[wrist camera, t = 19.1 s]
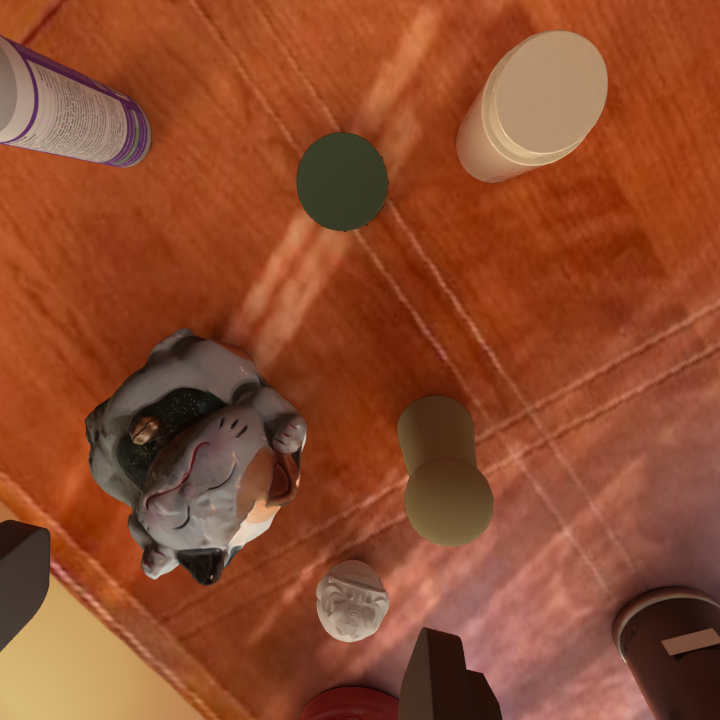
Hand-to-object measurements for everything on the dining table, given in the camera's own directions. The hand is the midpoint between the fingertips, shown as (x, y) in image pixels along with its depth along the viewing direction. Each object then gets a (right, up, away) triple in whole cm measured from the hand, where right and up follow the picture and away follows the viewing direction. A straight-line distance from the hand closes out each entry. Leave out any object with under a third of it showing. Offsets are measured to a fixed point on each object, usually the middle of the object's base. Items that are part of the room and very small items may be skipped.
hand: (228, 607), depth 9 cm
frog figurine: (+2, -14, +30) cm, 33 cm away
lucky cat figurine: (-8, +1, +27) cm, 28 cm away
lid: (+2, +17, +19) cm, 26 cm away
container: (-14, +21, +21) cm, 33 cm away
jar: (+12, +19, +19) cm, 30 cm away
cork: (+9, 0, +26) cm, 27 cm away
